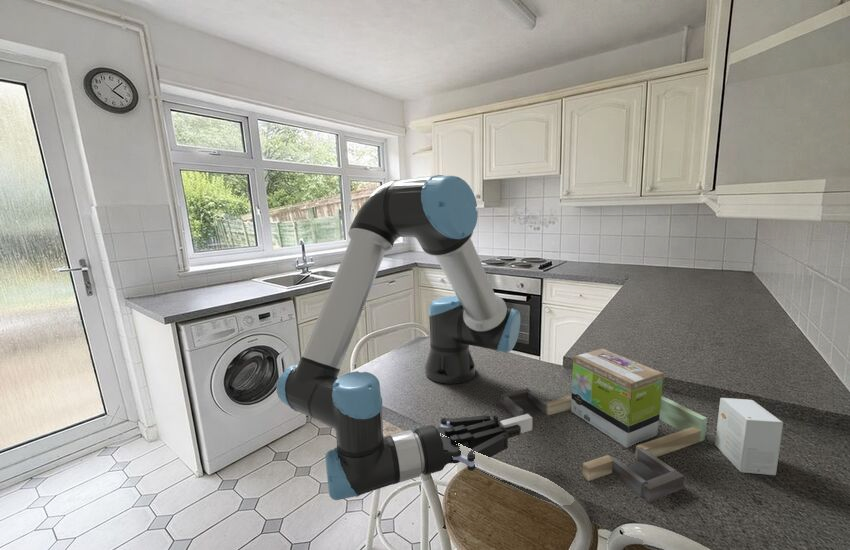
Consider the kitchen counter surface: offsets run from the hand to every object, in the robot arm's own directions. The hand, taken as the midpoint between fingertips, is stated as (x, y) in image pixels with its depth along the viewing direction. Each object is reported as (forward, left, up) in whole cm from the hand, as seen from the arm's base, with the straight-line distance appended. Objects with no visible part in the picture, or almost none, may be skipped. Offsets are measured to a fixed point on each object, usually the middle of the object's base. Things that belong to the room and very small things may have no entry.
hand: (529, 421), depth 70 cm
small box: (+17, +36, -7) cm, 40 cm away
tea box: (-1, +23, -7) cm, 24 cm away
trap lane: (0, +20, -7) cm, 21 cm away
